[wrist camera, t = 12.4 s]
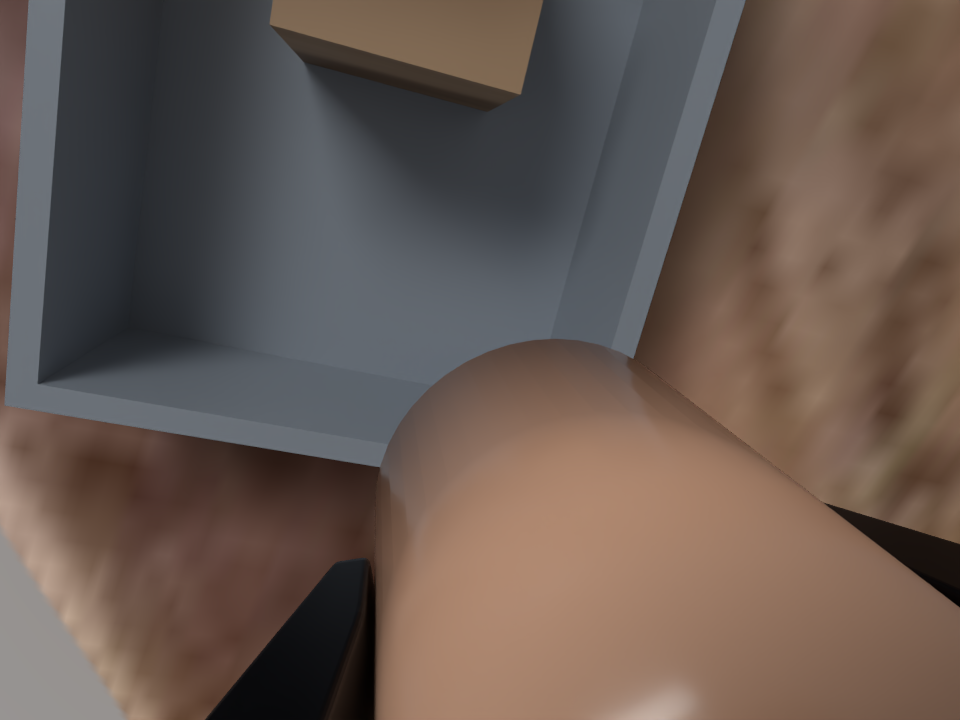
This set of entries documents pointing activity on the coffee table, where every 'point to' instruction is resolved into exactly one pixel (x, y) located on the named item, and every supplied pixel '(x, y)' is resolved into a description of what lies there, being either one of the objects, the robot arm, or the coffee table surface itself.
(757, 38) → the coffee table surface
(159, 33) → the box
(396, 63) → the walnut cube
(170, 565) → the coffee table surface
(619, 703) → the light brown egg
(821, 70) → the coffee table surface
